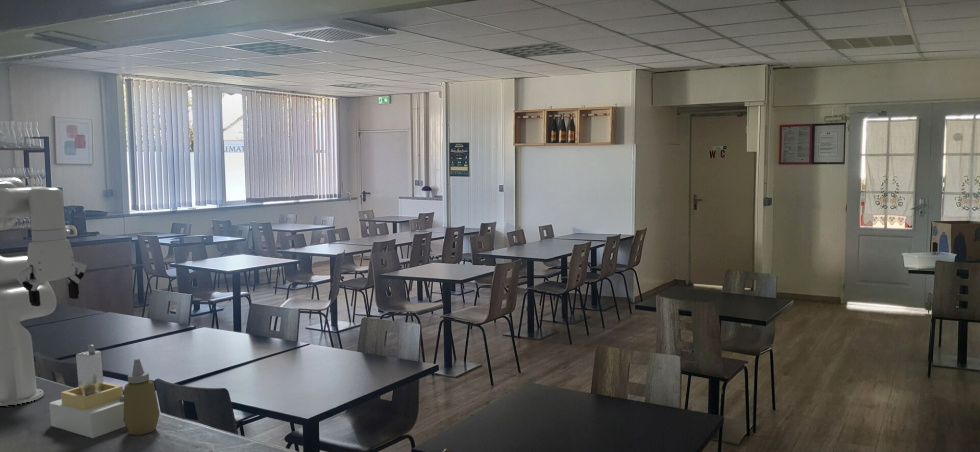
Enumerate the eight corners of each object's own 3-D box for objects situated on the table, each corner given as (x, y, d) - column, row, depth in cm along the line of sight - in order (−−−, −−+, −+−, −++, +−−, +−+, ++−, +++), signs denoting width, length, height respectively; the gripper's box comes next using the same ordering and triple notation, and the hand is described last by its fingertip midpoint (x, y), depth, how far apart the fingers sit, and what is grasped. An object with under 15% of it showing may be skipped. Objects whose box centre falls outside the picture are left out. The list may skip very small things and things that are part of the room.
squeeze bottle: (146, 438, 176) (140, 364, 174) (117, 436, 178) (110, 363, 176) (167, 425, 184) (162, 355, 182) (139, 424, 186) (133, 354, 184)
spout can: (75, 401, 185) (70, 345, 184) (96, 395, 190) (91, 340, 189) (88, 405, 183) (83, 348, 181) (109, 398, 187) (104, 342, 186)
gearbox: (51, 425, 186) (47, 391, 186) (97, 410, 197) (94, 377, 196) (92, 438, 177) (89, 401, 176) (138, 421, 187) (135, 387, 187)
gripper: (74, 231, 198) (80, 294, 200) (5, 239, 183) (12, 307, 185) (90, 232, 194) (96, 296, 196) (21, 240, 179) (28, 310, 181)
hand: (55, 302), depth 190 cm, fingers open, 9 cm apart
